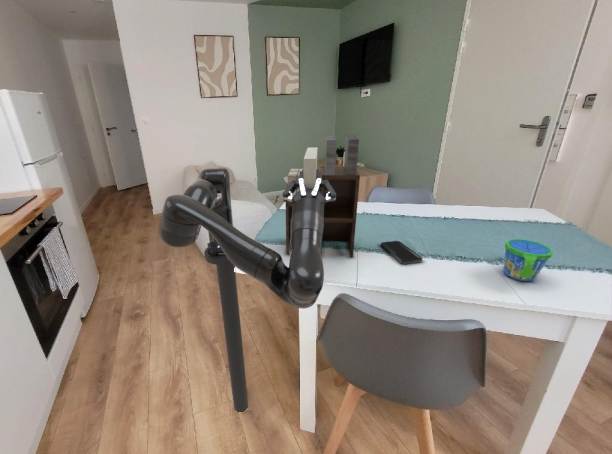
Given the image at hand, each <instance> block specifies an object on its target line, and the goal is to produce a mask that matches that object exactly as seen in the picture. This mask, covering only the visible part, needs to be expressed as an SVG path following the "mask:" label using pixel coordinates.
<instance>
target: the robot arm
mask: <svg viewBox="0 0 612 454" xmlns="http://www.w3.org/2000/svg"><path fill="white" fill-rule="evenodd" d="M301 169H302V171H300V173H299V180H297V181H296V180H292V181H291V183H290V184H289V185H288V184H287V187H286V188H285V189H284V190H283V192H282V201H283V202H284V203H286V202H287V201H291V202H292V204H293V210H292V219H291V239H290V252H289V262H288V263H289V264H288V266H287V265H286V264H285V263H284V260H283V257H282V255H281V254H280V253H279V252H277V251H275V250H274V249H271V248H270V247H268V246H266V245H265V244H263V243H261V242H259V241H257V240H255V239H253V238H251V237H250V236H249V235H246V234H245V233H243V232H242V231H241V230H239V229H238V228H236V227H235V226H234V221H233V220H234V219H233V209H232V208H233V207H232V200H231V199H232V198H231V181H230V180H231V179H230V178H231V177H230V172H229V170H228V169H227V168H226V167H216V168H214V167H213V168H205V169H202V170H201V171H200V172H199V174H198V176H197V178H196V179H195V181H194V182H193V183H191V184H190V185H189V186H188V187H187V188H186V189H185V191H184V193H183V194H171V195H169V196H167V197H166V198H165V200H164V203H163V207H162V211H161V216H160V219H159V220H160V221H159V225H158V235H159V237H160V239H161V241H162V242H163V243H165V244H166V245H167V246H170V247H172V248H179V249H180V248H187V247H189V246H191V245H193V244H194V243H195V242H196V241H197V240H198V239H199V235H200V232H201V228H202V227H203V228H204V229H205V230H206V231H207V232H208V240H209V242H208V243H207V247H208V251H207V252H208V254H209V255H212V254H214V255H215V256H219V255H220V256H223V255H226V257H227V258H228V259H229V260H230V262H231V263H232V264H233V265H234V266H235V268H236V269H238V270H239V271H241V272H242V273H244V274H246V275H248V276H250V277H251V278H253V279H255V280H257V281H259V282H261V283H262V284H263V285H264V286H266V287H267V288H268V289H269V290H270V291H271V292H272V293H273V294H275V295H276V296H277V297H278V298H279V299H280V300H282V301H283V302H285V303H286V304H288V305H289V306H291V307H293V308H296V309H303V310H304V309H308V308H311V307H313V305H315V303H316V302H317V300H318V298H319V296H320V294H321V292H322V290H323V287H324V281H325V280H324V279H325V269H324V262H323V255H322V256H321V253H322V254H323V241H322V236H323V229H324V206H325V205H326V202H329V201H331V202H332V203H334V202H335V201H336V193H335V191H334V189H333V188H332V186H331V185H330V183H329V181H328V180H324V181H323V180H321V177H322V170H320V169H318V168H317V169H316V183H315V185H314V188H310V189H309V188H305V185H304V184H303V179H304V168H301ZM298 187H299V190H300V191H299V192H297V193H296V194H295V195H294V196H293V197H292V194H293V193H294V191H295V190H296V189H297V188H298ZM321 188H323V189H324V191H325V193H326V197H325V196H324V195H323V194H322V193H321ZM219 194H220V197H218V195H219ZM209 251H210V252H211V253H212V254H211V253H210V252H209Z"/></svg>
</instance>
